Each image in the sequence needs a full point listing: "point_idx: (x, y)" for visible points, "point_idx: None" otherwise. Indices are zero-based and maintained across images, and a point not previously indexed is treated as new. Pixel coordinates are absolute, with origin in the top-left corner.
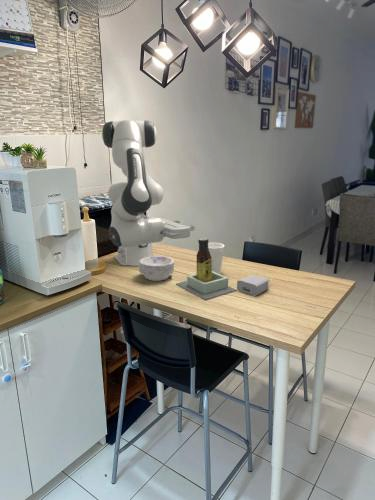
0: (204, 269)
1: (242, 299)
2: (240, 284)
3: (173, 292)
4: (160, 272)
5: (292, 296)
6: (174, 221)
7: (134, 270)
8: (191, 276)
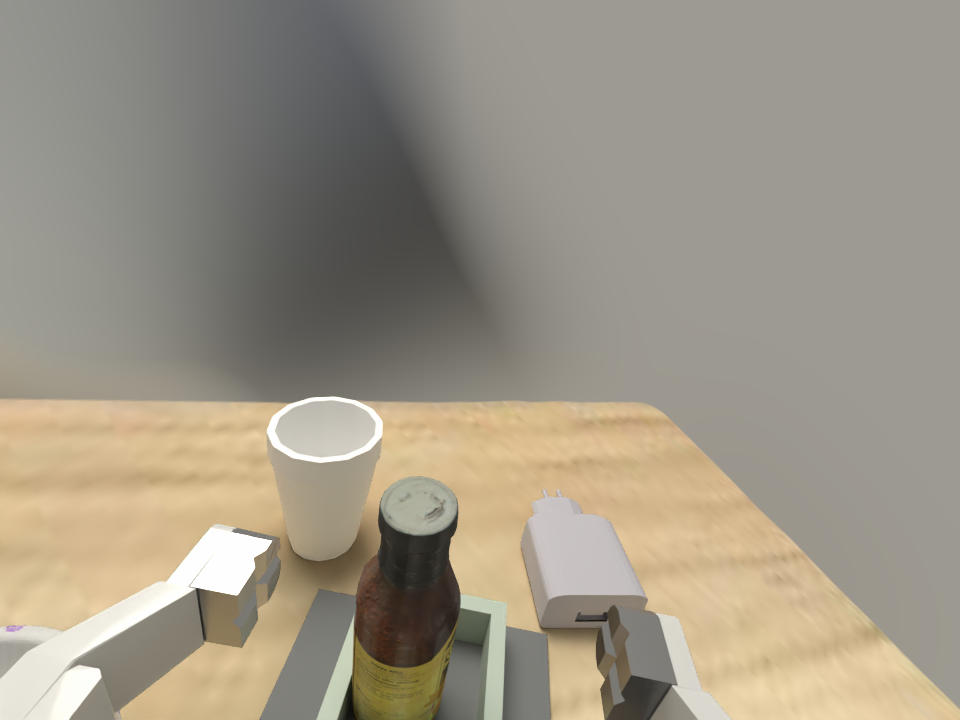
0: (437, 676)
1: None
2: (564, 607)
3: None
4: None
5: (685, 547)
6: (194, 594)
7: None
8: None
